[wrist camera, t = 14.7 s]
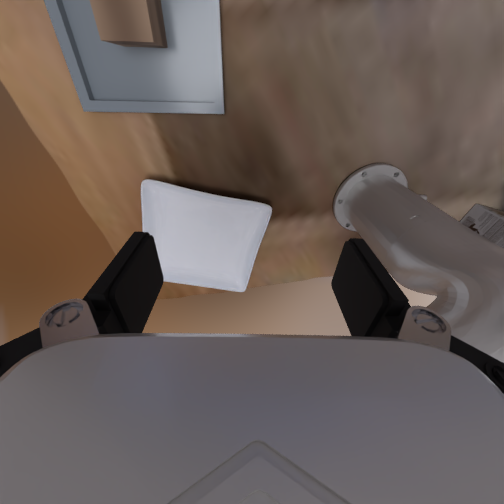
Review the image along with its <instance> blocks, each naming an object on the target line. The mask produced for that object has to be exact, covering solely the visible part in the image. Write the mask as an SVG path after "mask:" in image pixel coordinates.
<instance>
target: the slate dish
mask: <svg viewBox="0 0 504 504" xmlns="http://www.w3.org/2000/svg"><path fill="white" fill-rule="evenodd" d="M44 2H45V5H46V8H47V11H48V13H49V16H50V19H51V22H52V24H53V27H54V30H55V33H56V36H57V38H58V41H59V44H60V47H61V49H62V52H63V55H64V58H65V60H66V63H67V66H68V69H69V72H70V74H71V77H72V80H73V83H74V85H75V88H76V91H77V94H78V96H79V99H80V102H81V105H82V108H83V110H84V111H94V112H148V113H202V114H224V113H225V109H224V85H223V62H222V39H221V15H220V0H161V6H162V13H163V19H164V26H165V33H166V39H167V46H168V48H151V47H124V46H120V45H117V44H113V43H109V42H105V41H101V39H100V36H99V32H98V29H97V25H96V21H95V18H94V14H93V11H92V7H91V3H90V0H44Z"/></svg>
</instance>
